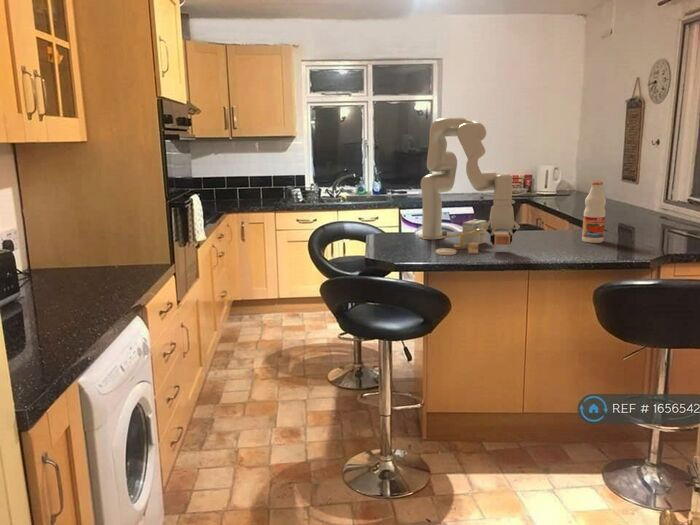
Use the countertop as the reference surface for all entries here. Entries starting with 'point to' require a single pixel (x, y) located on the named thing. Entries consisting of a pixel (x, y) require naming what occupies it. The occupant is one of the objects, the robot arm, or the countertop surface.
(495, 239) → the reddish brown box
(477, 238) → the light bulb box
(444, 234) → the balance
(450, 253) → the dish
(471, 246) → the block
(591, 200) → the fruit juice
